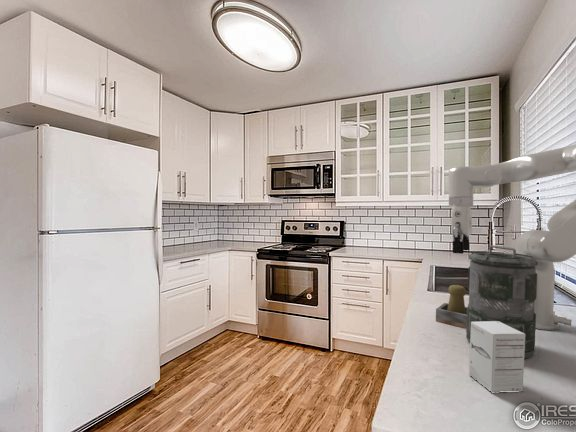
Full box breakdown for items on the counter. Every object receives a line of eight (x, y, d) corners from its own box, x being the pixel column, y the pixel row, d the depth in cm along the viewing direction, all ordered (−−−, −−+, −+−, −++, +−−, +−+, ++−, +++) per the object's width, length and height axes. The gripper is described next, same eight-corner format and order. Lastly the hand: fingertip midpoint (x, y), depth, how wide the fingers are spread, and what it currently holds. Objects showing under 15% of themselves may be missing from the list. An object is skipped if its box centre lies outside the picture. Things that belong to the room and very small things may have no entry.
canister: (453, 339, 93) (456, 244, 92) (491, 332, 98) (494, 242, 98) (507, 364, 78) (511, 251, 77) (548, 355, 84) (552, 249, 83)
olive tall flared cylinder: (461, 315, 111) (462, 283, 111) (469, 321, 105) (470, 288, 105) (443, 314, 111) (444, 283, 111) (450, 320, 105) (451, 287, 105)
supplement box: (467, 375, 72) (469, 320, 72) (498, 374, 73) (499, 320, 73) (490, 394, 65) (493, 333, 65) (524, 393, 66) (526, 333, 65)
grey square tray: (475, 321, 108) (476, 309, 108) (468, 329, 101) (469, 316, 101) (444, 314, 115) (444, 302, 115) (435, 321, 108) (436, 308, 108)
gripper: (468, 202, 101) (468, 255, 102) (477, 202, 115) (477, 249, 115) (442, 202, 106) (443, 253, 106) (454, 203, 119) (455, 248, 120)
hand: (461, 251), depth 111 cm, fingers open, 9 cm apart
